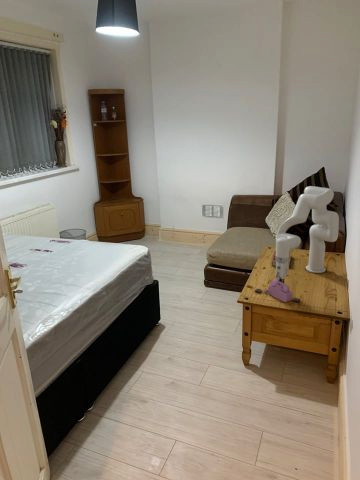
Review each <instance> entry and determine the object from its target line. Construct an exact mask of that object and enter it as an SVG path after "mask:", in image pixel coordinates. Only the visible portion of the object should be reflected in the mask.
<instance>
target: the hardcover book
mask: <svg viewBox="0 0 360 480" xmlns="http://www.w3.org/2000/svg"><path fill="white" fill-rule="evenodd" d="M291 255H292V251H290V250H289V262H288V263H289V269H290V268H291V257H292V256H291ZM275 259H276V249H274V252H273V257H272V261H271V266H272V267H275V268H276V261H275Z"/></svg>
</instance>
